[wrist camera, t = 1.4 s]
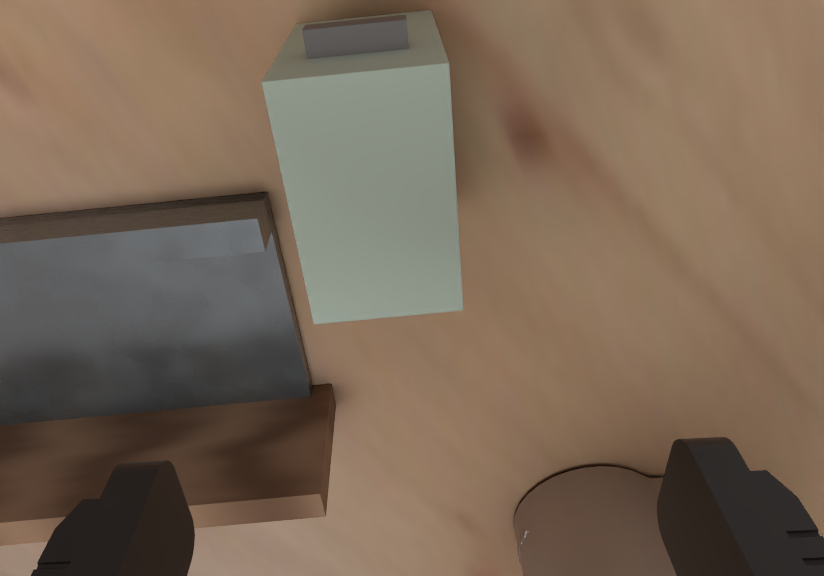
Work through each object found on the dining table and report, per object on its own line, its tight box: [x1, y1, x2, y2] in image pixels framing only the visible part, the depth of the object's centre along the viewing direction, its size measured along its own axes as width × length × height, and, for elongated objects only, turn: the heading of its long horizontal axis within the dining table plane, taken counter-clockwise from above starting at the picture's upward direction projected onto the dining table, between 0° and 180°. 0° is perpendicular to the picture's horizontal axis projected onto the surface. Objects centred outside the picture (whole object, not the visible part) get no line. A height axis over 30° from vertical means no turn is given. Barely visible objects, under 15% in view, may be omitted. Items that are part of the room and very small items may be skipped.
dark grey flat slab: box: [0, 192, 312, 425], centre depth 29 cm, size 18×11×2 cm, turn 95°
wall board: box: [0, 384, 336, 546], centre depth 31 cm, size 20×2×7 cm, turn 95°
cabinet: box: [262, 10, 463, 324], centre depth 22 cm, size 5×9×8 cm, turn 5°
